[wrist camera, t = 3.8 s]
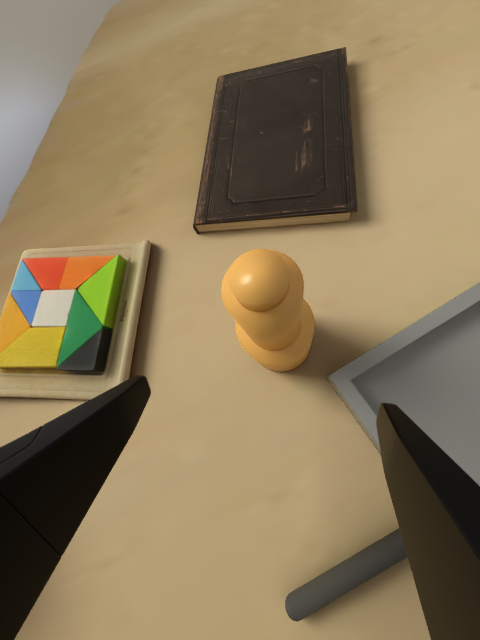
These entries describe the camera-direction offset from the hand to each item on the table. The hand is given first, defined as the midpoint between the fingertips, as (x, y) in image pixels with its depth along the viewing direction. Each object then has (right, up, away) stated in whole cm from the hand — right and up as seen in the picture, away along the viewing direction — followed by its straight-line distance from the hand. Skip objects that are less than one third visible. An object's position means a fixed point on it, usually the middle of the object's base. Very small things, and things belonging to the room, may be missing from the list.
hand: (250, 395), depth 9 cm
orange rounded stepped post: (+3, +1, +12) cm, 12 cm away
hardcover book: (+4, +23, +20) cm, 31 cm away
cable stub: (+7, -13, +6) cm, 16 cm away
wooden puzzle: (-19, +3, +19) cm, 27 cm away
